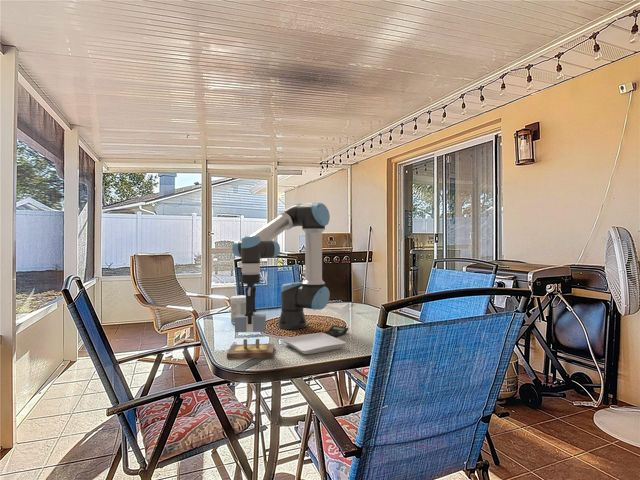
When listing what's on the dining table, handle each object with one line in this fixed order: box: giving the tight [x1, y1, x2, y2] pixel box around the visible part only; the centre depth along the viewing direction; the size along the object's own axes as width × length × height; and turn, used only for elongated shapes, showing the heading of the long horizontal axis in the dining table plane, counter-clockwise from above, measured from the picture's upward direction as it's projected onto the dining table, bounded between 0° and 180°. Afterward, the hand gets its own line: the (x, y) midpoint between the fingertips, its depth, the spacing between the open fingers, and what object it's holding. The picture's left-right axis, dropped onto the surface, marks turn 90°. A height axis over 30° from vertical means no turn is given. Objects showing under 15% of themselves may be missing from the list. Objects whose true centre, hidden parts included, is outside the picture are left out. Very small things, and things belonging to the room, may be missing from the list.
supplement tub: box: [230, 294, 246, 325], centre depth 208 cm, size 10×10×15 cm
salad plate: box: [282, 332, 347, 355], centre depth 164 cm, size 21×21×3 cm
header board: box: [226, 338, 275, 359], centre depth 156 cm, size 18×12×6 cm, turn 94°
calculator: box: [322, 324, 349, 339], centre depth 184 cm, size 9×12×3 cm
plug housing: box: [234, 313, 267, 333], centre depth 155 cm, size 12×6×6 cm, turn 94°
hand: (250, 329), depth 155 cm, fingers closed on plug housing, 5 cm apart
